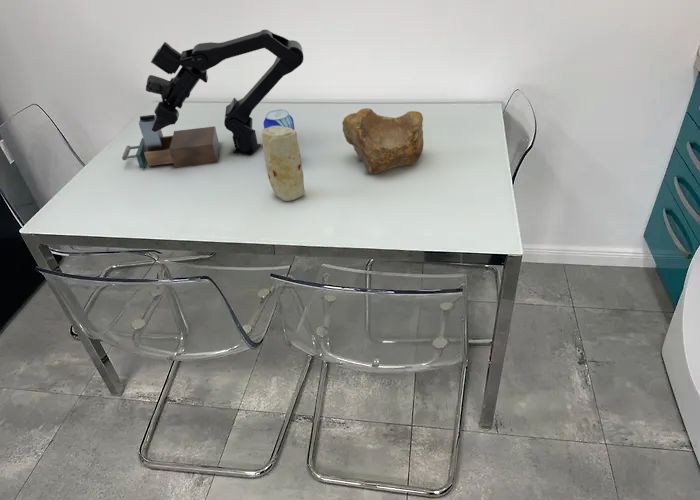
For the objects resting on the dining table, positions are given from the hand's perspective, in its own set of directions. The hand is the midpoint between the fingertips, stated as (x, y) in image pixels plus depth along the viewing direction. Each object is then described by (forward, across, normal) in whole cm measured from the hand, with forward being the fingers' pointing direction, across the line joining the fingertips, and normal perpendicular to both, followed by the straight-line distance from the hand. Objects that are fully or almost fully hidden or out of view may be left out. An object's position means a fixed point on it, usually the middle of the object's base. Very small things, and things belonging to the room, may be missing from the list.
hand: (155, 123), depth 167 cm
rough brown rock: (-37, +19, +54) cm, 69 cm away
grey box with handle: (+8, 0, +6) cm, 10 cm away
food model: (-17, +30, +35) cm, 49 cm away
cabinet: (+2, 0, +15) cm, 15 cm away
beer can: (-17, +12, +34) cm, 40 cm away
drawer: (+10, 0, +5) cm, 12 cm away
